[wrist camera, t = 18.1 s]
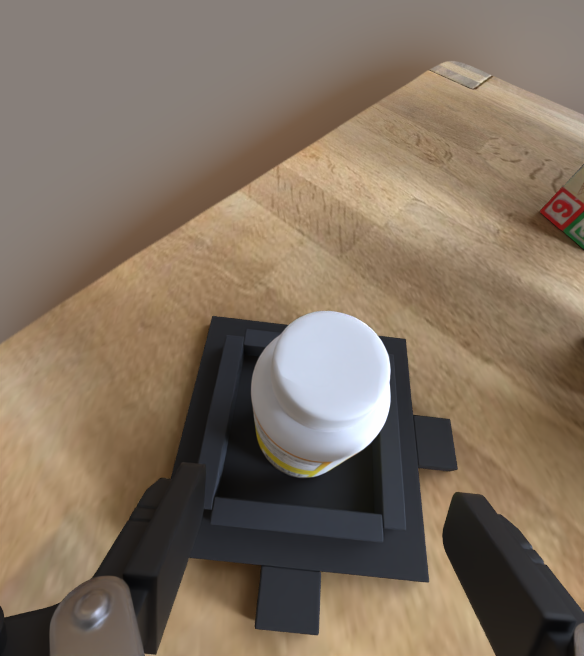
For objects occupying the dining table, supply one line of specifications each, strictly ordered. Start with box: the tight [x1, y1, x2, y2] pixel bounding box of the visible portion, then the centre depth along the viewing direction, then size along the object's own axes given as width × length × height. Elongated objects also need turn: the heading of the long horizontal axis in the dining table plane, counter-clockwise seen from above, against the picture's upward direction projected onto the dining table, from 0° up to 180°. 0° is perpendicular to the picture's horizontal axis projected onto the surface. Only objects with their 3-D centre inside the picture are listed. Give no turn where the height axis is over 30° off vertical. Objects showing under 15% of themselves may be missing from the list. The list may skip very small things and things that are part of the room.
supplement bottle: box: [251, 311, 390, 478], centre depth 15 cm, size 6×6×10 cm
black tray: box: [171, 316, 458, 635], centre depth 19 cm, size 16×16×2 cm
